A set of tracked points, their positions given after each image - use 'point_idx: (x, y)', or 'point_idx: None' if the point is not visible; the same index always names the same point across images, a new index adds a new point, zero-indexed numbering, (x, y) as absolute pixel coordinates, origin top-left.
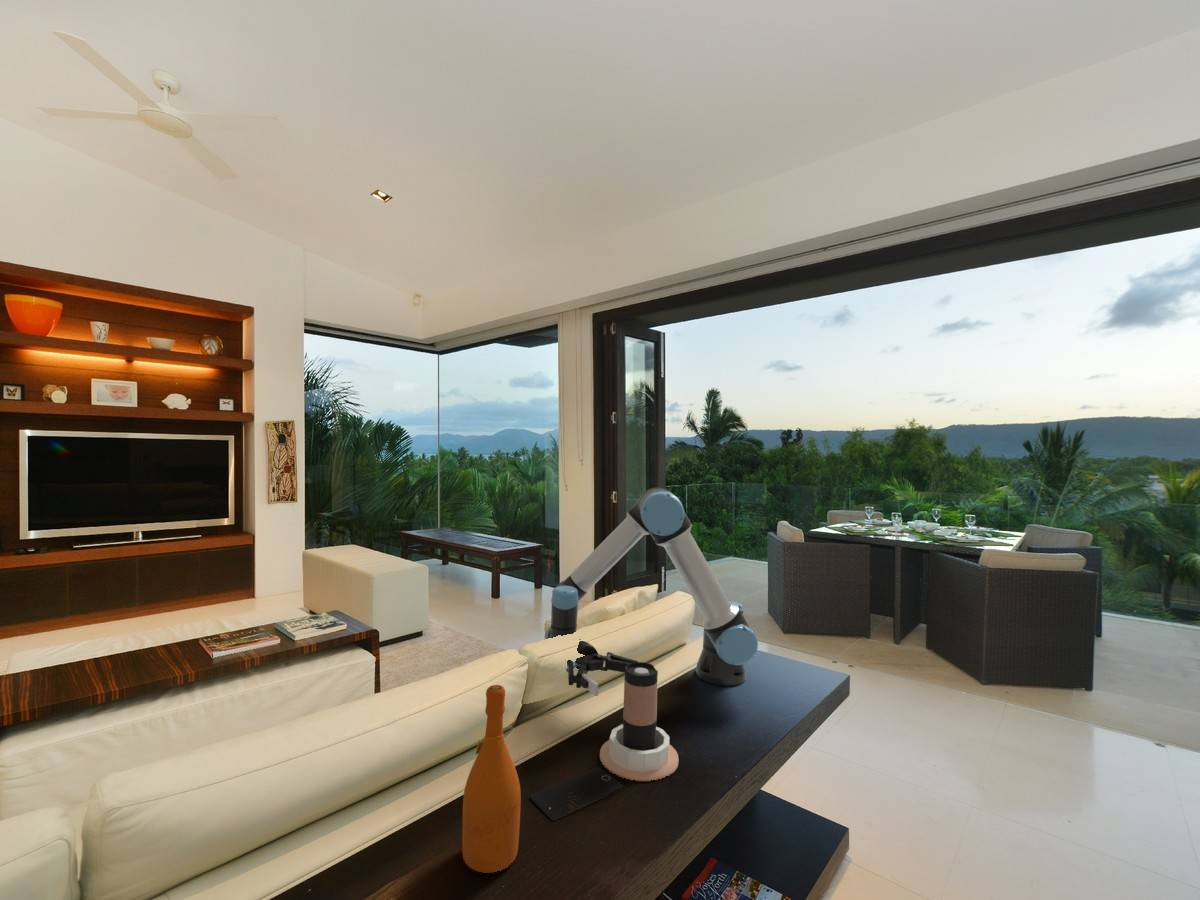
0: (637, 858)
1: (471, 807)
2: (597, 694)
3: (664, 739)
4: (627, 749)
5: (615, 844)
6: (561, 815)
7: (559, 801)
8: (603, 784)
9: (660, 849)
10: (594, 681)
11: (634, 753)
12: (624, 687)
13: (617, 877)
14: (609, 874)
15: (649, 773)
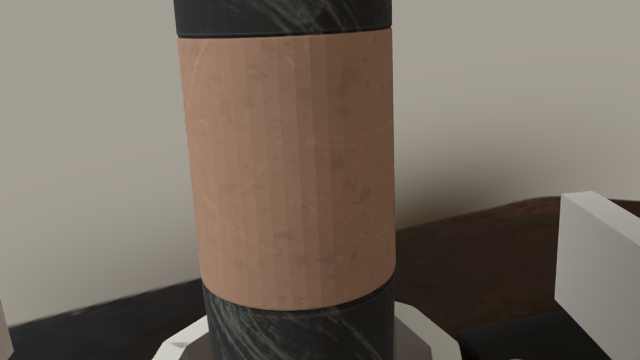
0: (493, 216)
1: None
2: (560, 287)
3: (201, 334)
4: (410, 317)
5: (533, 235)
6: None
7: None
8: (536, 347)
9: (439, 221)
10: (604, 219)
11: None
12: (389, 84)
13: (542, 203)
14: (557, 207)
15: None
